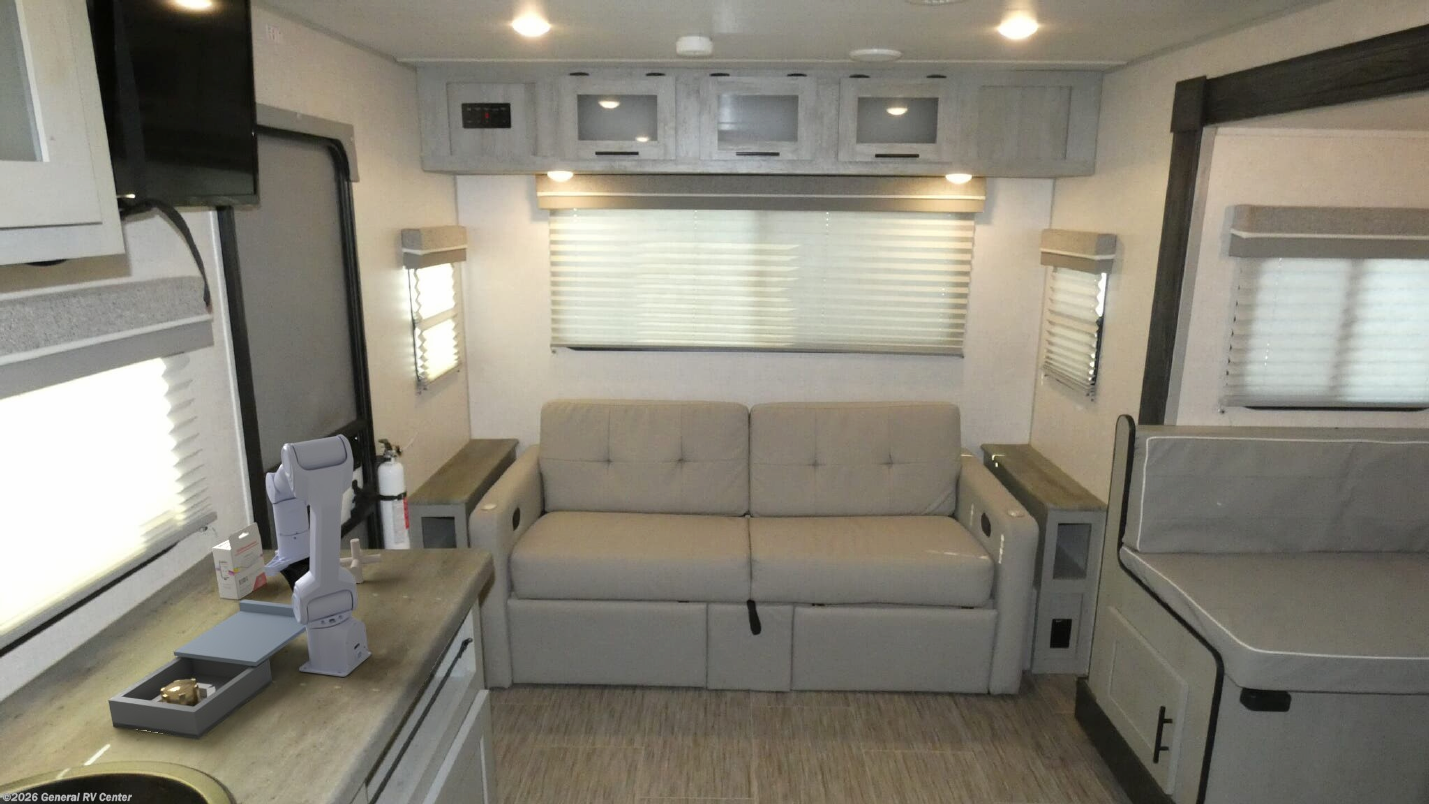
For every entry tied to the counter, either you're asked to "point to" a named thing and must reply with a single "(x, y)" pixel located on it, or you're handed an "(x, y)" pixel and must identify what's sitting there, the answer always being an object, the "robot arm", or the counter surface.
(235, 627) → the lid
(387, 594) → the counter surface
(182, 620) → the counter surface
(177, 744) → the counter surface
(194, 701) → the ribbed brass cylinder
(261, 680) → the housing
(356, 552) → the pipe connector
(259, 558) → the ink cartridge box
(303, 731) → the counter surface
